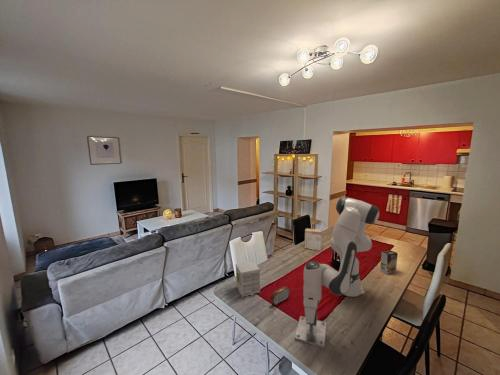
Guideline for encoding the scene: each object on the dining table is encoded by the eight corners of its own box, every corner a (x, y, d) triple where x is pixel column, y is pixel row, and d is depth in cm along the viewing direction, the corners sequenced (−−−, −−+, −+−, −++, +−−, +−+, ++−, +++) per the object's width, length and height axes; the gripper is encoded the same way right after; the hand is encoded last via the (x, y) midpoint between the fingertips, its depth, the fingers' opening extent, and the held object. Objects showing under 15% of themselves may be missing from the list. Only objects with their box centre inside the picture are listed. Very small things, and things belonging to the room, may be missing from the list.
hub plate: (300, 317, 125) (300, 311, 125) (326, 324, 120) (326, 317, 119) (294, 339, 111) (294, 332, 110) (324, 348, 105) (324, 340, 105)
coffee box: (387, 275, 167) (388, 254, 165) (379, 270, 173) (381, 251, 171) (396, 272, 170) (397, 253, 167) (388, 268, 176) (390, 249, 173)
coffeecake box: (321, 248, 216) (321, 229, 213) (320, 251, 209) (321, 231, 206) (305, 246, 222) (306, 227, 219) (304, 249, 215) (304, 230, 213)
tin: (287, 295, 145) (287, 283, 144) (290, 298, 143) (290, 285, 142) (270, 305, 137) (269, 292, 135) (273, 308, 134) (273, 295, 133)
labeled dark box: (307, 316, 118) (307, 306, 117) (317, 319, 116) (317, 309, 115) (306, 323, 113) (306, 313, 112) (316, 326, 111) (316, 315, 110)
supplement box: (236, 286, 156) (235, 263, 154) (253, 282, 161) (253, 260, 158) (241, 298, 144) (241, 273, 142) (260, 293, 148) (260, 268, 146)
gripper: (308, 281, 123) (308, 304, 125) (302, 304, 104) (302, 331, 106) (320, 283, 120) (319, 307, 122) (316, 307, 102) (316, 334, 104)
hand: (311, 318), depth 114 cm, fingers closed on labeled dark box, 5 cm apart
